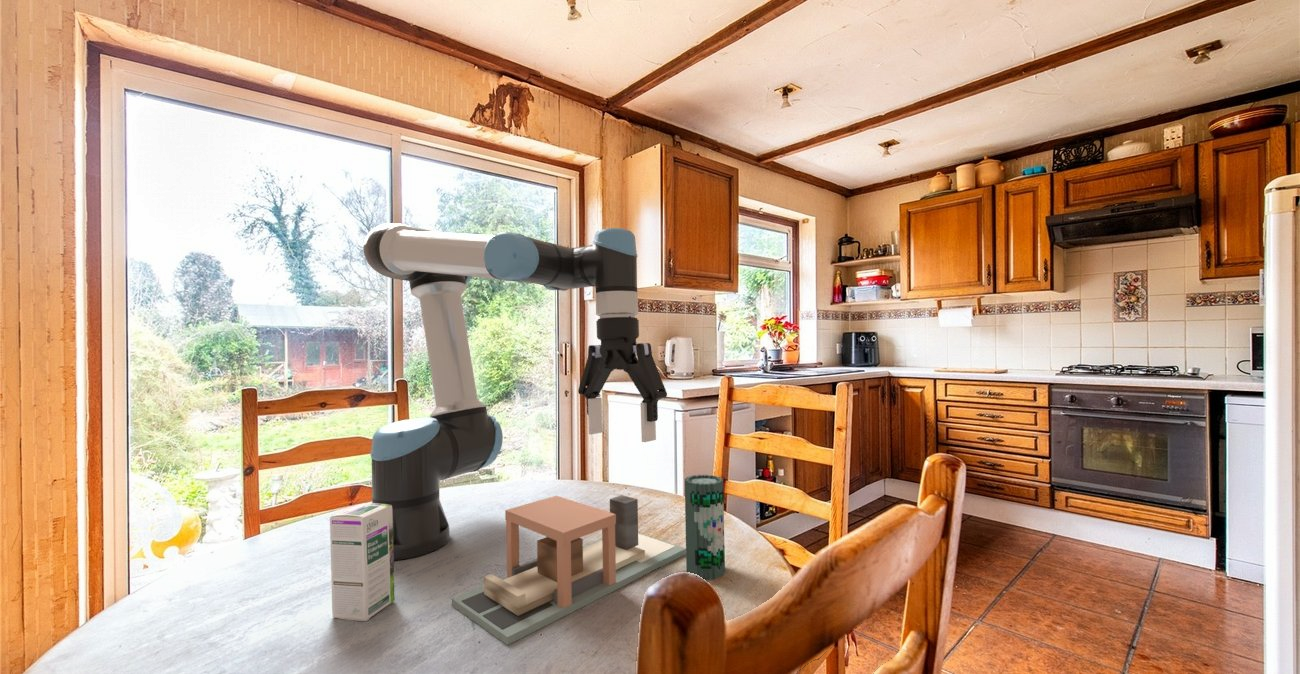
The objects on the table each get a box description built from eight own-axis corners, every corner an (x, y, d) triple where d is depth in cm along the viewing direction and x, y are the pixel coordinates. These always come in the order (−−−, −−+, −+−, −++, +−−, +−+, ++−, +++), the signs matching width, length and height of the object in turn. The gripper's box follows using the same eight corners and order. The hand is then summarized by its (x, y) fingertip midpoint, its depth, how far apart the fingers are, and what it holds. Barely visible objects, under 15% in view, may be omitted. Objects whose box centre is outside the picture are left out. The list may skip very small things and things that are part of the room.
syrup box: (366, 622, 69) (365, 516, 69) (329, 618, 70) (329, 514, 71) (395, 601, 75) (394, 503, 75) (361, 598, 76) (360, 501, 76)
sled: (484, 594, 74) (483, 532, 74) (613, 541, 93) (612, 492, 93) (518, 615, 68) (517, 548, 68) (648, 554, 87) (647, 502, 87)
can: (706, 582, 79) (704, 486, 79) (679, 570, 83) (677, 479, 84) (731, 570, 83) (729, 479, 83) (704, 559, 87) (702, 472, 88)
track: (451, 605, 73) (450, 525, 74) (626, 533, 100) (625, 475, 100) (507, 645, 63) (506, 553, 63) (686, 554, 90) (684, 489, 90)
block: (537, 572, 79) (537, 540, 79) (563, 562, 82) (562, 531, 82) (557, 582, 75) (556, 548, 75) (583, 571, 79) (582, 538, 79)
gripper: (685, 312, 84) (689, 440, 83) (588, 321, 101) (591, 427, 100) (654, 311, 78) (659, 448, 78) (557, 321, 95) (560, 433, 95)
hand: (621, 437), depth 89 cm, fingers open, 13 cm apart
